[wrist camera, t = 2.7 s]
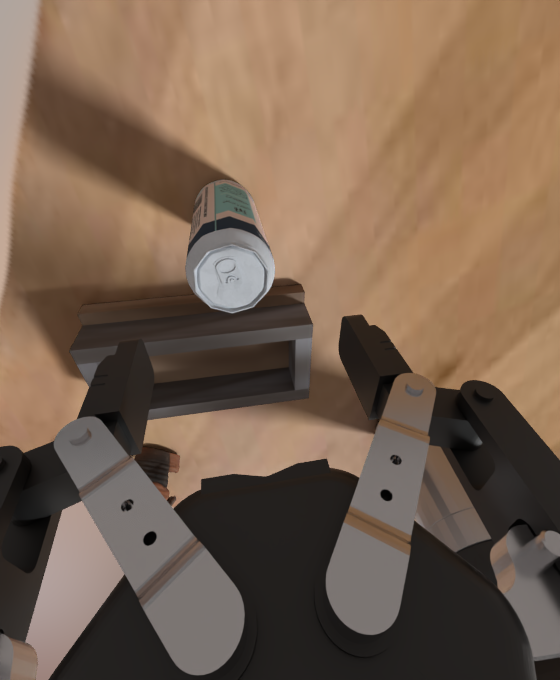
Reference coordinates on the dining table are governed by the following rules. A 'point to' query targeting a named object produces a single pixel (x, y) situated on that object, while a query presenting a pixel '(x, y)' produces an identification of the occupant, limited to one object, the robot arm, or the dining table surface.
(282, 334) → the frame
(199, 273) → the beer can
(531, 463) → the robot arm
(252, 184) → the dining table surface
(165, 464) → the broken pottery vessel
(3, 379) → the dining table surface
